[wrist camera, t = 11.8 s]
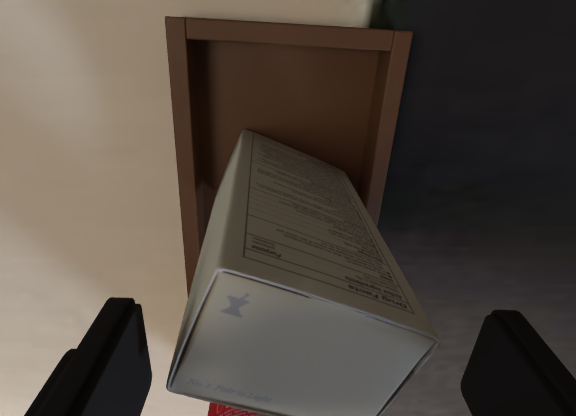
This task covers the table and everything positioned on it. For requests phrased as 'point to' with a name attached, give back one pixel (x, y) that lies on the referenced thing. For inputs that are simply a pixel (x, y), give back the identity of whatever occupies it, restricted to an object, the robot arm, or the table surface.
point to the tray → (280, 103)
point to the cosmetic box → (296, 296)
